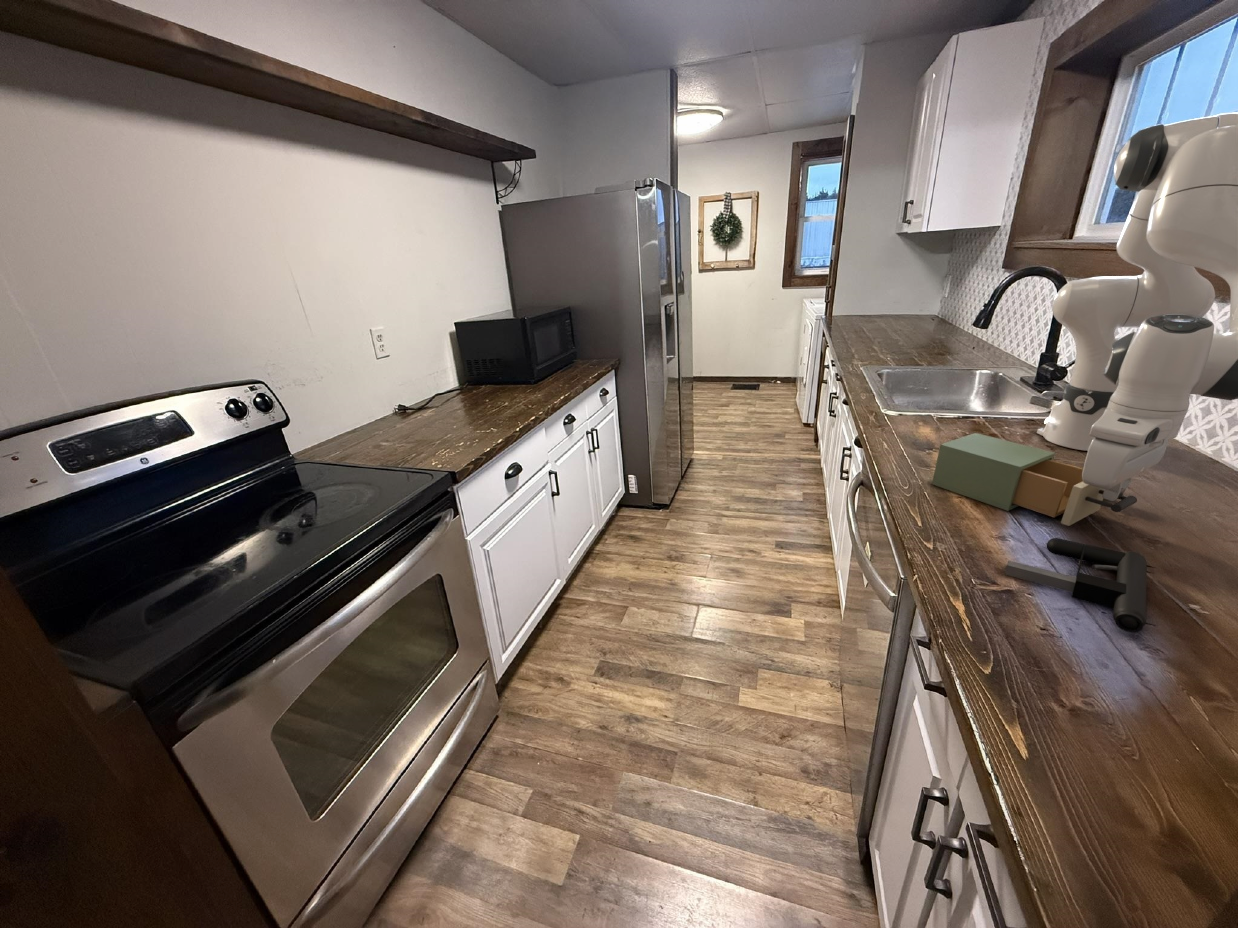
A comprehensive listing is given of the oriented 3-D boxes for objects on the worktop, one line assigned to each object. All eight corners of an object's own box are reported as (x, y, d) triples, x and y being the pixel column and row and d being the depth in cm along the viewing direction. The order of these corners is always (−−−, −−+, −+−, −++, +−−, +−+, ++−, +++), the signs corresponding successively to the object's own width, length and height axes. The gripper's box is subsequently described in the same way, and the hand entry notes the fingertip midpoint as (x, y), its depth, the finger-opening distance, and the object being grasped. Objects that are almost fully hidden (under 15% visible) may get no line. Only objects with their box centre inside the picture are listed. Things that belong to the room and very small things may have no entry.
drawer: (1134, 520, 87) (1150, 482, 84) (1104, 538, 82) (1119, 499, 80) (1016, 483, 102) (1026, 450, 100) (985, 497, 98) (994, 463, 95)
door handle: (999, 577, 72) (1161, 622, 61) (1023, 525, 85) (1159, 553, 74) (995, 597, 73) (1154, 644, 62) (1019, 542, 86) (1153, 572, 75)
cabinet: (1042, 494, 99) (1055, 452, 96) (1007, 511, 94) (1020, 467, 91) (966, 471, 111) (975, 432, 108) (931, 484, 106) (940, 444, 103)
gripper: (1142, 405, 87) (1116, 477, 92) (1086, 428, 78) (1060, 505, 83) (1194, 414, 81) (1162, 489, 87) (1139, 439, 73) (1108, 521, 78)
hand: (1112, 497), depth 85 cm, fingers closed
